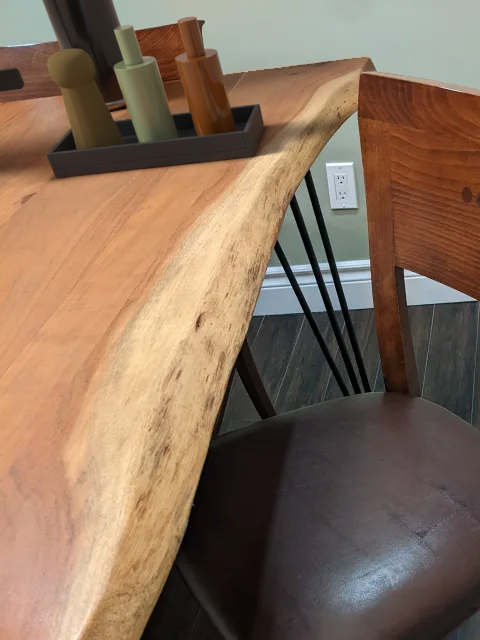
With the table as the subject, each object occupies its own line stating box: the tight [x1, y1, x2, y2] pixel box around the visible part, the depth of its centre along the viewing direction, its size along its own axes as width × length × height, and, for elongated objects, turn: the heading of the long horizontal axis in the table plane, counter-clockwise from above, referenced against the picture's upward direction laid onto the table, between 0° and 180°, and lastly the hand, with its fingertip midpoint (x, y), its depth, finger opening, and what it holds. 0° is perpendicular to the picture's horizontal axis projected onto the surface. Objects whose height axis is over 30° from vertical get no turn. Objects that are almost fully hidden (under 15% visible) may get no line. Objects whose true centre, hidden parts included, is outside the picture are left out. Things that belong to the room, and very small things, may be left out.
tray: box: [45, 103, 265, 179], centre depth 87 cm, size 25×10×3 cm, turn 89°
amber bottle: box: [174, 16, 237, 136], centre depth 82 cm, size 5×5×12 cm
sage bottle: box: [113, 24, 179, 143], centre depth 83 cm, size 5×5×12 cm
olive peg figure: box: [46, 49, 125, 150], centre depth 84 cm, size 6×6×11 cm
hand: (7, 88), depth 83 cm, fingers open, 8 cm apart
